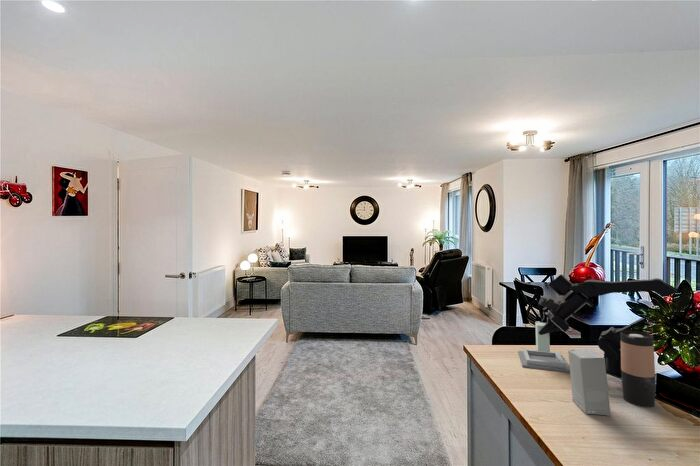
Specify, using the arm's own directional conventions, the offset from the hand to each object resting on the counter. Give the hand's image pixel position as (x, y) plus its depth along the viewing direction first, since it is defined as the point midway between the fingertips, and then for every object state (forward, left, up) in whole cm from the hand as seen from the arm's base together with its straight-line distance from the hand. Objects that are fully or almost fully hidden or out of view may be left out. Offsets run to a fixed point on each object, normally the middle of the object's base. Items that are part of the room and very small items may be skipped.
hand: (538, 332), depth 131 cm
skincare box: (-32, +15, -12) cm, 37 cm away
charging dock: (-1, -1, -12) cm, 12 cm away
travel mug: (-34, -2, -12) cm, 36 cm away
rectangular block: (-1, -1, -7) cm, 7 cm away
